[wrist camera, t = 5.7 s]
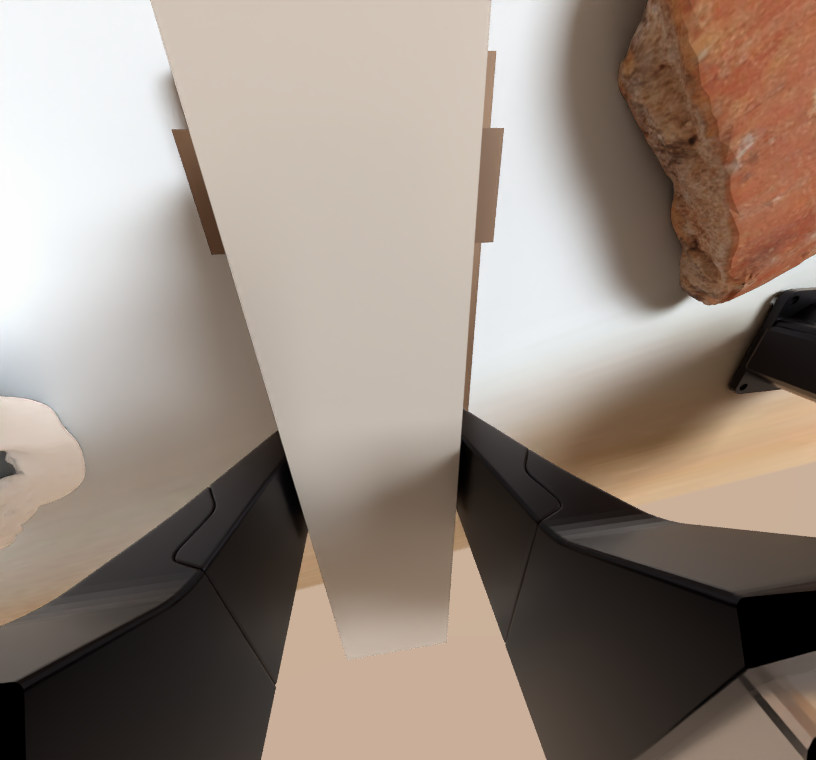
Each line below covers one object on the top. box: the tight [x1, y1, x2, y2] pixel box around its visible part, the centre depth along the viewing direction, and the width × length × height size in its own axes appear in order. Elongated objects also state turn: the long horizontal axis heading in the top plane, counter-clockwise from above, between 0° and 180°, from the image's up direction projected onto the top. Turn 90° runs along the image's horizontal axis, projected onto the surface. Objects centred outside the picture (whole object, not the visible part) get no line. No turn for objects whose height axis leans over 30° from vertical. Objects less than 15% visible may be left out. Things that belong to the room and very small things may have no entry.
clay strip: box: [150, 0, 491, 660], centre depth 8 cm, size 4×16×4 cm, turn 2°
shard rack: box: [172, 51, 504, 411], centre depth 13 cm, size 10×20×4 cm, turn 2°
